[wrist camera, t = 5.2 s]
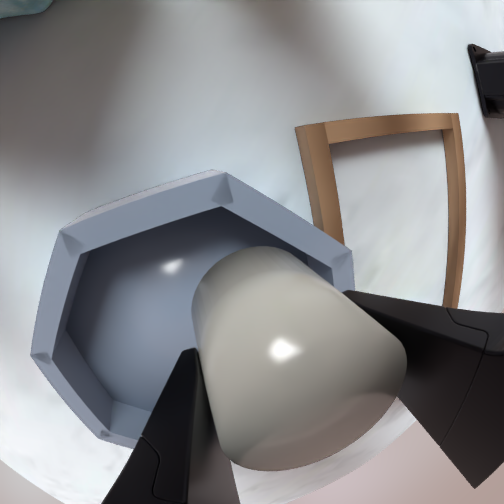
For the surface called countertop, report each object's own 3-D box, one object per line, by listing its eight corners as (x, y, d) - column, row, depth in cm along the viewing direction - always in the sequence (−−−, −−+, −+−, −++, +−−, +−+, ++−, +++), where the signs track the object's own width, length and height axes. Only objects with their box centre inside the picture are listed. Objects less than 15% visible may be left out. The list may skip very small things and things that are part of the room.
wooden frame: (447, 113, 14) (458, 113, 13) (441, 345, 22) (448, 350, 21) (294, 127, 12) (304, 125, 11) (334, 411, 19) (340, 419, 18)
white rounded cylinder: (304, 228, 9) (415, 292, 5) (320, 333, 11) (395, 419, 6) (172, 271, 9) (182, 390, 4) (214, 373, 10) (249, 486, 6)
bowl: (299, 148, 12) (336, 146, 10) (332, 371, 18) (356, 401, 15) (16, 243, 10) (-17, 266, 7) (135, 435, 15) (136, 473, 12)
